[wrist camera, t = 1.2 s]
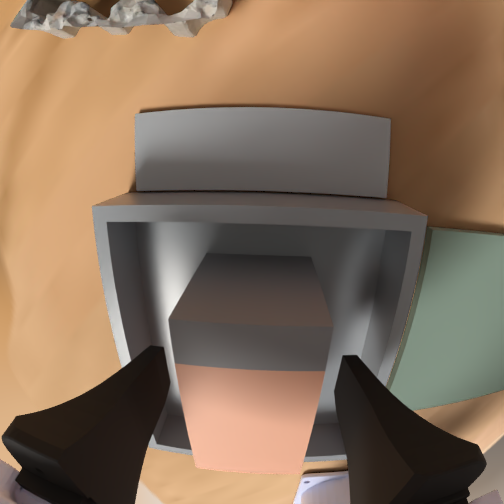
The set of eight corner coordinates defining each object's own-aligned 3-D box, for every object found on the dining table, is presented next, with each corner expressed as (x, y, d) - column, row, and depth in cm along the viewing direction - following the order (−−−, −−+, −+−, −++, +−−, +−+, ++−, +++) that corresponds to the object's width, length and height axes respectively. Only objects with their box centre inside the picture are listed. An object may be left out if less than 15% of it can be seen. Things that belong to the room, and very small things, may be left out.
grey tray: (336, 449, 18) (341, 484, 15) (170, 441, 19) (160, 474, 16) (400, 121, 11) (434, 116, 8) (126, 115, 12) (88, 110, 9)
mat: (504, 384, 16) (507, 388, 16) (377, 408, 17) (379, 414, 16) (557, 239, 12) (562, 242, 12) (427, 226, 13) (433, 229, 12)
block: (295, 392, 16) (299, 473, 11) (214, 388, 16) (195, 467, 11) (310, 256, 13) (333, 326, 8) (206, 252, 13) (167, 318, 8)
